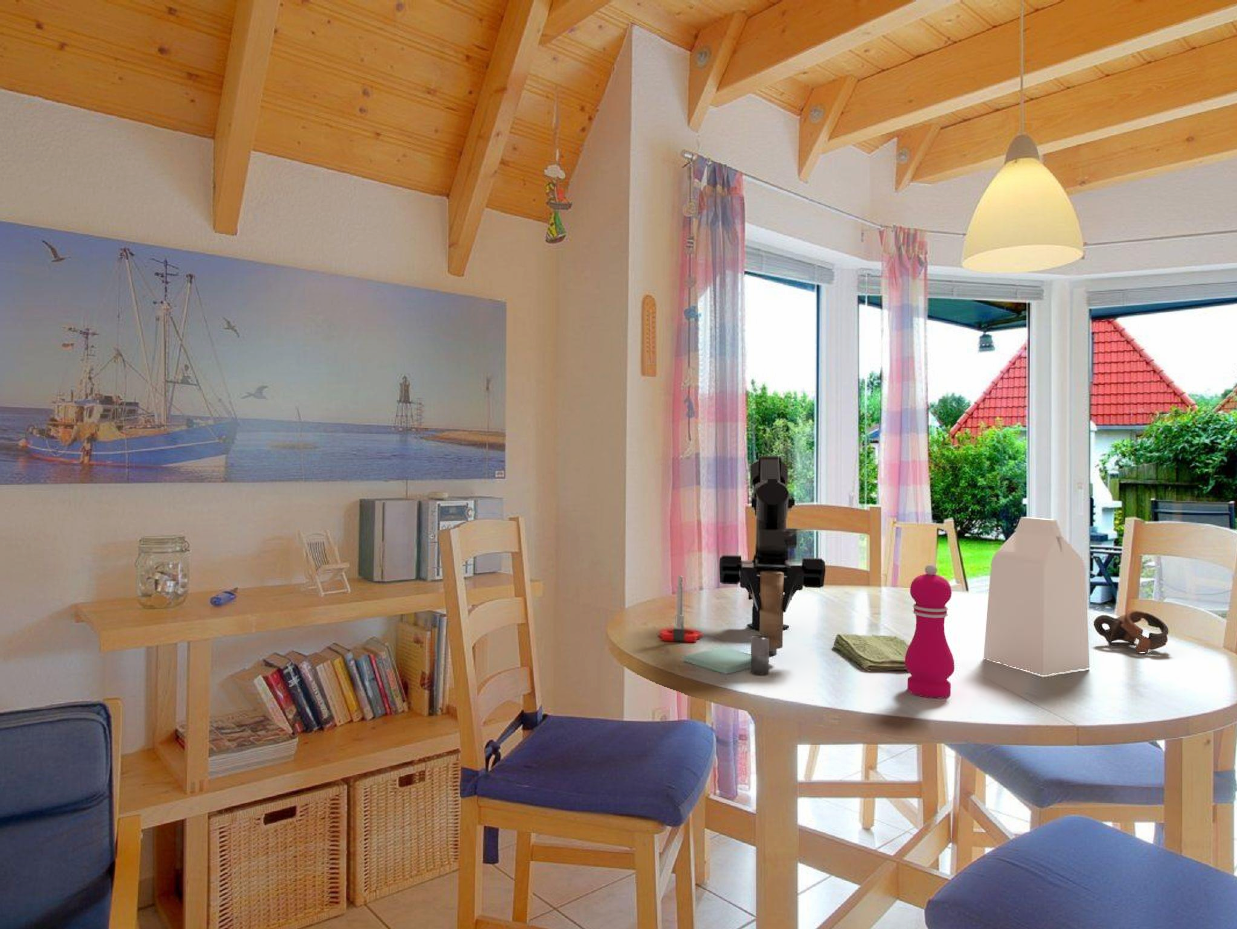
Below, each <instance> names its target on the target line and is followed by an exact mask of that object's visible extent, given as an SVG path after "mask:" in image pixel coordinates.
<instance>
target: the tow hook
mask: <svg viewBox="0 0 1237 929" xmlns="http://www.w3.org/2000/svg"><path fill="white" fill-rule="evenodd" d="M677 578H678V579H677V580H678V581H677V583H678V584H677V586H676V614H675V617H674V619H675V620H674V623H675V625H674V627H673V628H671V627H670V628H663V629H662V630H659V636H660V637H661V640H662V641H663V642H674V643H696V642H697V640H698V639H701V638H702V634H703V633H702V632H701V630H697V629H693V628H685V627H684V626H685V625H684V624H685V621H684V620H685V616H684V615H683V611H684V610H683V609H684V604H683V603H684V586H683V575H678V577H677ZM686 633H688V634H686Z"/></svg>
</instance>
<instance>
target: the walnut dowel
mask: <svg viewBox="0 0 1237 929" xmlns="http://www.w3.org/2000/svg"><path fill="white" fill-rule="evenodd" d="M783 584H784V573H783V572H779V571H762V572H761V575H760V630H759V635H762V636H767V637H769V649H777V650H778V649H782V648H783V647H784V646H783V644H784V643H783V642H784V639H783V638H784V636H783V635H784V629H783V624H784V612H783V594H784V593H783Z"/></svg>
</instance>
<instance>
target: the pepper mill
mask: <svg viewBox="0 0 1237 929" xmlns="http://www.w3.org/2000/svg"><path fill="white" fill-rule="evenodd" d="M924 571H925V573H924V574H919V575H918V576H916V577H914V579H913V580H912V581H911V584H910V589H909V593H910V596H911V598H912V599H913V600H914V602H915V603H914V604H913V605H912V607H913V611H912V613H913V614H914V615H915V630H914V634H913V637H912V638H911V641H910V644H909V647H908V649H907V652H906V656H905V667H906V670H907V672H909V674H910V676H908V677H907V686H906V687H907V690H908V692H910V693H911V694H913V695H916V696H918V697H919V696H920V697H923V696H926V697H925V698H929V697H944V698H947V697H946V696H948V697H949V696H950V695H951V694H952V693H951V682H950V681H949V680H948V679H949V678H950V677H951V676H952V675H953V674H954V672H955V659H954V656H953V653H952V651H951V648H950V647H949V644H948V642H947V638H946V634H945V619H946V617H947V616H949V615H948V610H949V608H948V606H947V605H946V604H947V603H949V601H950V600H951V598H952V587H951V583H950V582H949V581H948V580H947V579H946V578H945V577H943V576H940V575H938V574H937V573H938V568H937V566H936V565H934V564H931V563H930V564H929V563H928V564H927V565H926V566H925V568H924Z"/></svg>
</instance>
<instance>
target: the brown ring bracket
mask: <svg viewBox="0 0 1237 929" xmlns="http://www.w3.org/2000/svg"><path fill="white" fill-rule="evenodd" d="M1142 619H1143V620H1145V621H1146V622H1147V625H1148V626H1150V627H1152V628H1156V629H1157V628H1158V629H1159V630H1160V631H1161V632H1160V633H1154V632H1149V633H1148V637H1147V636H1144V634H1143V633H1144V629H1143V628H1142V627H1139V626H1138V625H1137V624H1135V623H1139V622H1140V621H1142ZM1103 624H1104V625H1108V628H1106V629H1105V628H1104V627H1103ZM1093 627H1094V629H1095V631H1096V632H1097V634H1098V635H1099V636H1101V637H1103V638H1104V639H1105V640H1106V642H1107V643H1108V644H1109V643H1111V644H1112V643H1113V642H1115V641H1124V642H1127V643H1130V642H1133V643H1132V644H1135V643H1136V640H1138V643H1137V645H1136V647H1135V648H1134V650H1135V652H1137V653H1138V652H1146V653H1148V652H1149V650H1151V651H1153V650H1156V649H1159V648H1162V647H1165V646H1166V645H1167V643H1168V635H1169V628H1168V626H1167V625H1166V624H1165V622H1164V621H1162V620H1161V619H1160V618H1159V617H1156V616H1154V615H1153V614H1150V613H1148V612H1144V611H1140V610H1129V611H1127V612H1126V613H1125V614H1123V615H1120V616H1118V617H1116V618H1115V617H1112V616H1110V615H1106V614H1102V615H1101V614H1100V615H1098V616H1097V617H1096V618H1095V619H1094V620H1093ZM1134 642H1135V643H1134Z"/></svg>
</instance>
